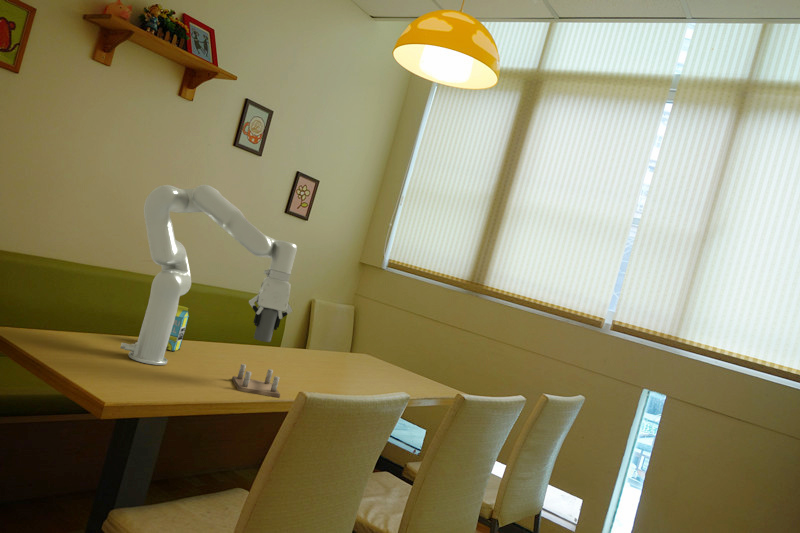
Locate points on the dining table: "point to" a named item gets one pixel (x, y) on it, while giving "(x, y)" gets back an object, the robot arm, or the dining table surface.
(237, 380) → the pegboard
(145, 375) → the dining table surface
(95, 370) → the dining table surface
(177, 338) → the carton
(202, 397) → the dining table surface
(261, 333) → the bottle
